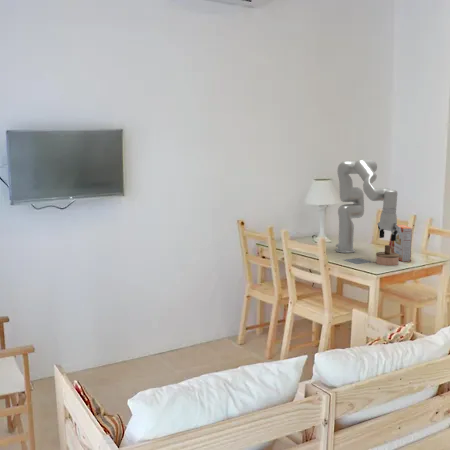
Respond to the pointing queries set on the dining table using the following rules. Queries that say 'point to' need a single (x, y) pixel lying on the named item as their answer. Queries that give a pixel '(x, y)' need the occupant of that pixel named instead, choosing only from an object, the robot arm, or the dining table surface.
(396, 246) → the cracker box
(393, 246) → the milk carton
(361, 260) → the mat
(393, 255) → the lid
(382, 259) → the bowl
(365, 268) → the dining table surface
